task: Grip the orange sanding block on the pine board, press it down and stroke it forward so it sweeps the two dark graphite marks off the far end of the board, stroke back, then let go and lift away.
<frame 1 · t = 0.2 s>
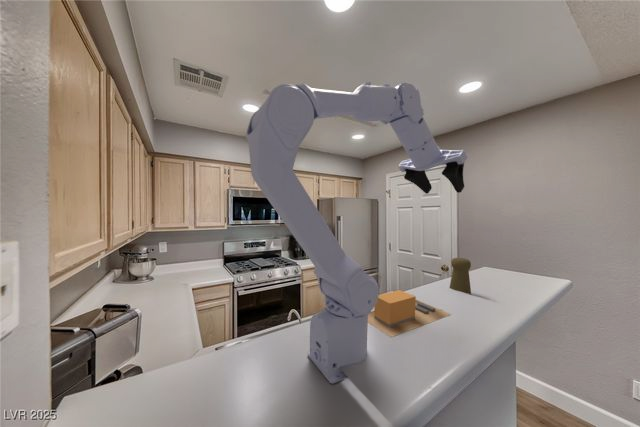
hand: (443, 190, 53), 31 cm above the countertop, tool tilted 45°, fingers open, 7 cm apart
graphite mark 2: (426, 308, 57), point 1 cm above the countertop, touching pine board
sanding block: (394, 318, 52), point 1 cm above the countertop, touching pine board
graphite mark 1: (419, 310, 56), point 1 cm above the countertop, touching pine board
cork: (459, 293, 72), on the countertop
pine board: (405, 321, 53), on the countertop
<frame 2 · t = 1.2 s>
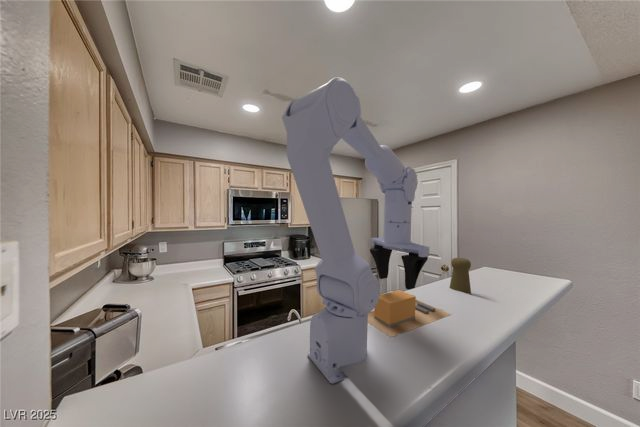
hand: (395, 282, 51), 9 cm above the countertop, tool pointing down, fingers open, 7 cm apart
nothing on the countertop moved.
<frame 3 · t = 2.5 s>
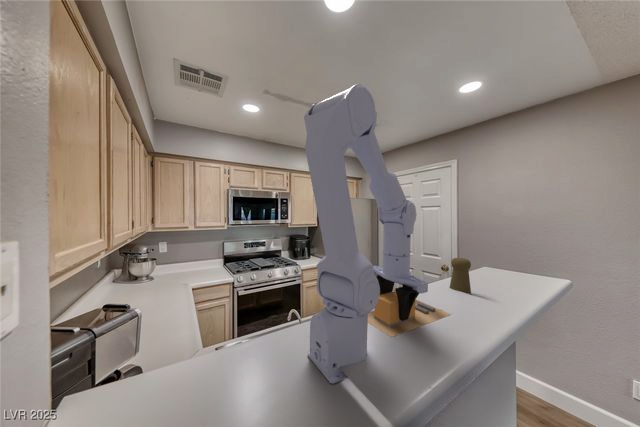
hand: (394, 314, 52), 2 cm above the countertop, tool pointing down, fingers closed on sanding block, 4 cm apart
sanding block: (394, 318, 52), point 1 cm above the countertop, touching gripper, pine board
everything else where it was.
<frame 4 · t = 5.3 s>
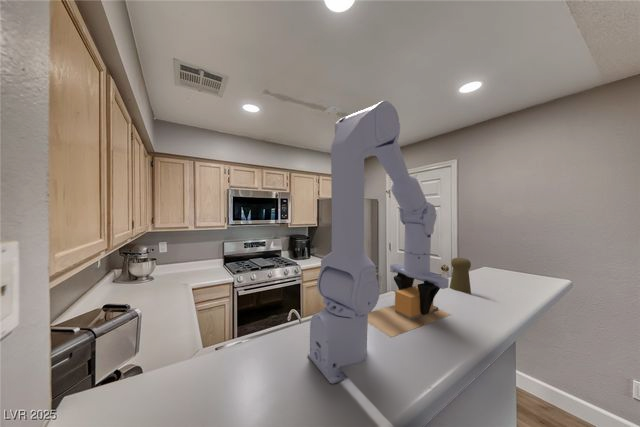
hand: (415, 309, 55), 2 cm above the countertop, tool pointing down, fingers closed on sanding block, 4 cm apart
graphite mark 2: (429, 307, 58), point 1 cm above the countertop, touching pine board
sanding block: (413, 311, 55), point 2 cm above the countertop, touching gripper
graphite mark 1: (426, 308, 57), point 1 cm above the countertop, touching pine board
everything else where it was.
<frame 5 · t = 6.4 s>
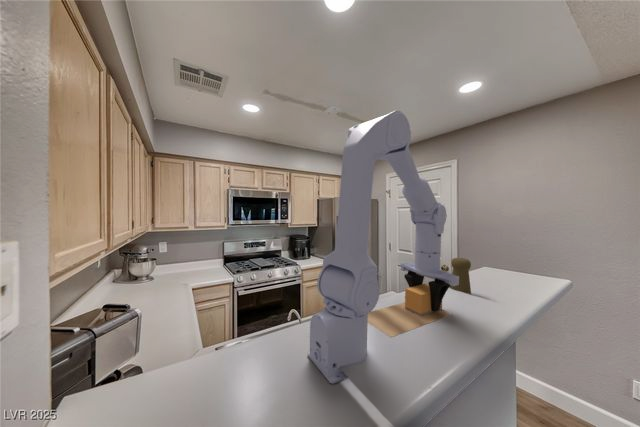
hand: (425, 305, 57), 2 cm above the countertop, tool pointing down, fingers closed on sanding block, 4 cm apart
graphite mark 2: (435, 311, 59), on the countertop, tilted 180°
sanding block: (423, 308, 57), point 2 cm above the countertop, touching gripper, pine board
graphite mark 1: (433, 309, 59), point 1 cm above the countertop, tilted 91°
everything else where it was.
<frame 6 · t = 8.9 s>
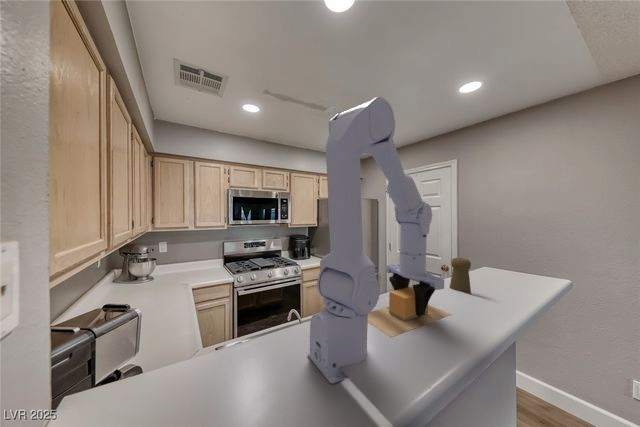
hand: (411, 310, 54), 2 cm above the countertop, tool pointing down, fingers closed on sanding block, 4 cm apart
graphite mark 2: (435, 311, 59), on the countertop, tilted 180°, touching graphite mark 1
sanding block: (408, 313, 54), point 2 cm above the countertop, touching gripper
graphite mark 1: (434, 309, 59), point 1 cm above the countertop, tilted 89°, touching graphite mark 2
everything else where it was.
when the fingers open (2 cm above the countertop, at t = 9.3 s): sanding block stays where it is, resting on pine board.
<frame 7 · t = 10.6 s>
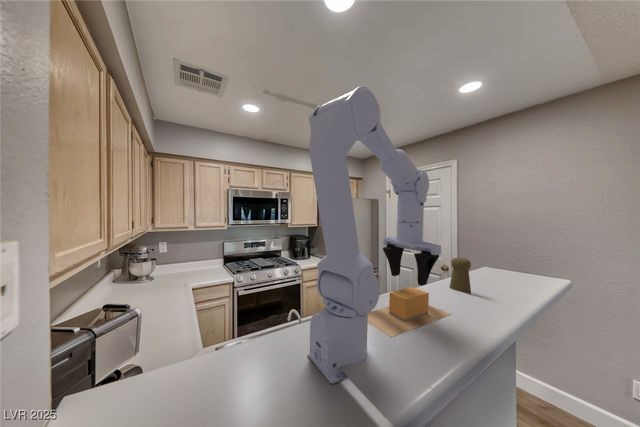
hand: (408, 279, 54), 9 cm above the countertop, tool pointing down, fingers open, 7 cm apart
sanding block: (408, 313, 54), point 1 cm above the countertop, touching pine board
everything else where it was.
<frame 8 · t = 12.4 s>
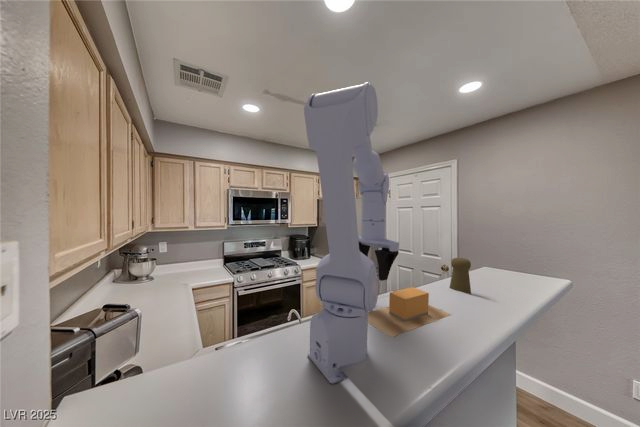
hand: (372, 275, 57), 9 cm above the countertop, tool pointing down, fingers open, 7 cm apart
graphite mark 2: (435, 311, 59), on the countertop, tilted 179°
graphite mark 1: (434, 309, 59), on the countertop, tilted 92°
everything else where it was.
at the end: graphite mark 1 point 0.5 cm above the countertop; graphite mark 2 on the countertop; sanding block inside the target area on the pine board (0.7 cm from its centre), point 1.5 cm above the pine board's base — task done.
